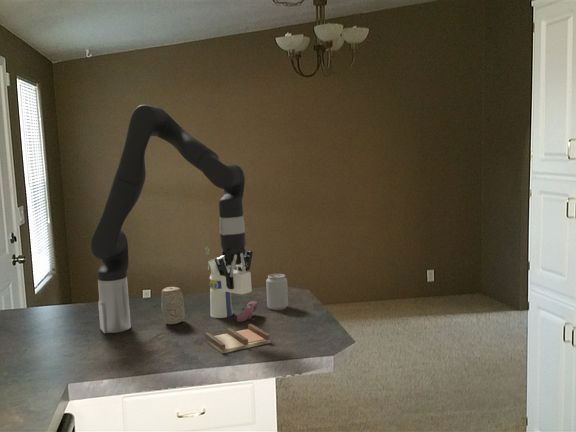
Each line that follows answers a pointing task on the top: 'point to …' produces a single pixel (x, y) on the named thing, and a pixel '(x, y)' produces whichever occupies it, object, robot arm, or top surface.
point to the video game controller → (248, 311)
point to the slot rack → (238, 339)
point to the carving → (172, 305)
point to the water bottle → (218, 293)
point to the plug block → (238, 282)
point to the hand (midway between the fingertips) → (236, 286)
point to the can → (277, 292)
